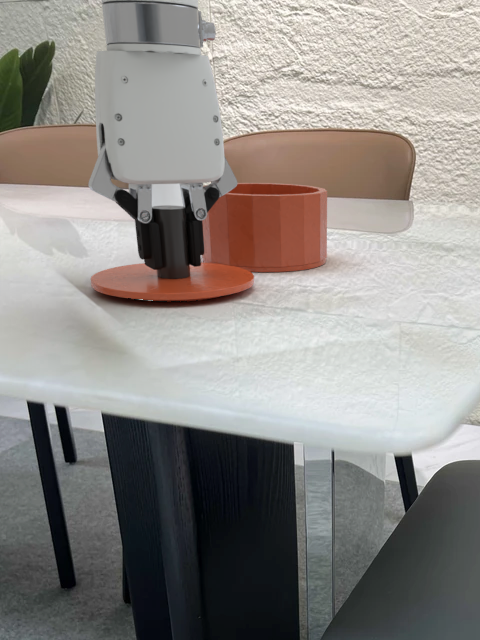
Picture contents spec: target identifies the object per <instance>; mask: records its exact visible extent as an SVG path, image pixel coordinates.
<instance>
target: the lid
mask: <svg viewBox="0 0 480 640" xmlns="http://www.w3.org/2000/svg"><path fill="white" fill-rule="evenodd" d="M152 215H153V217H154V222H155V223H157V224H158V225H159V233H160V244H161V255H162V268H161V269H160V270H153V269H152V268H150V267H148V266H146V265H145V262H143V263H134V264H127V265H125V264H124V265H120V266H115V267H114V266H113V267H110V268H106V269H103V270H101V271H98V272H96V273H94V274H93V275H92V276H91V277H90V284H91V285H90V286H91V288H92V289H93V290H94V291H96V292H98V293H100V294H104V295H107V296H112V297H117V298H123V299H128V298H131V299H130V300H134V299H143V300H153V301H167V302H166V303H172V302H171V301H180V302H179V303H182V302H181V301H187V302H197V301H196V300H198V301H204V300H211V299H216V298H220V297H223V296H229V295H233V294H236V293H240V292H243V291H246V290H249V289H250V288H252V287H253V285H254V284H255V275H254V273H253V272H250V271H248V270H245V269H243V268H239V267H235V266H230V265H224V264H215V263H204V262H202V261H201V266H197V267H194V266H192V265H190V263H189V249H188V235H187V221H186V208H185V207H183V206H170V205H167V206H154V207H152Z"/></svg>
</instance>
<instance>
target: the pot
mask: <svg viewBox="0 0 480 640" xmlns="http://www.w3.org/2000/svg"><path fill="white" fill-rule="evenodd" d="M207 185H208V184H206V185H203V187H204V186H207ZM202 223H203V238H204V255H201V257H202V261H203V263H215V264H224V265H230V266H235V267H239V268H243V269H245V270H248V271H250V272H251V273H284V272H285V273H286V272H297V271H304V270H311V269H315V268H318V267H319V268H320V267H321V266H323V265H325V264H326V262H327V261H326V260H327V258H328V190H326V188H324V187H320V186H319V187H318V186H314V185H303V184H295V183H277V182H275V183H274V182H237V186H236V187H235V188H234V189H232V190H231V191H229V192H228V193H226V194H225V195H223V196H221V197H219V199H218V200H217V201H216V203H215V204H214V205H213V206H212V208H211V209H210V210H209V211H208V213H207V217H206V218H205V219H204V220H202Z"/></svg>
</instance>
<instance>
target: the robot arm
mask: <svg viewBox="0 0 480 640" xmlns="http://www.w3.org/2000/svg"><path fill="white" fill-rule="evenodd" d="M101 4H102V5H101V9H102V17H103V18H102V19H103V28H104V36H105V44H106V46H105V47H106V50H98V51H96V52H95V53H96V55H95V66H94V67H95V68H94V109H95V110H94V111H95V114H94V115H95V131H96V132H95V133H96V147H97V148H96V149H97V158H96V161H95V163H94V166H93V169H92V172H91V175H90V178H89V179H88V184H87V185H88V188H89V189H90V190H91V191H92V192H94V193H96V194H98V195H100V196H103V197H104V198H106V199H109V200H111V201H113V202H114V203H115V204H117V205H118V206H119V207H120V208H121V209H122V210H123V211H124V212H126V214H128V215H129V217H130V218H131V219H132V220H134V225H135V226H134V227H135V233H136V234H135V235H136V244H137V253H138V257H139V259H140V260H143V263H145V265H146V266H148V267H150V268H152V269H153V270H160V269H161V268H162V255H161V244H160V233H159V225H158V224H157V223H155V222H154V217H153V215H152V184H180V190H181V196H182V202H183V207H185V208H186V221H187V235H188V249H189V263H190V265H192V266H194V267H197V266H201V262H202V258H201V257H202V255H204V238H203V223H202V220H204V219H205V218H206V217H207V213H208V211H209V210H210V209H211V208H212V206H213V205H214V204H215V203H216V201H217V200H218V199H219V197H221V196H223V195H225V194H226V193H228V192H229V191H231V190H232V189H234V188H235V187H236V186H237V183H238V179H237V177H236V176H235V173H234V171H233V169H232V167H231V166H230V164H229V161H228V159H227V158H226V155H225V143H224V142H225V141H224V134H223V126H222V116H221V109H220V104H219V97H218V93H217V87H216V82H215V78H214V73H213V69H212V65H211V62H210V57H209V55H205V54H204V55H202V49H201V48H204V43H206V42H208V41H211V42H213V41H215V40H216V35H217V33H216V26H215V23H214V22H211V21H206V20H205V19H203V18H202V11H200V10H199V0H101ZM112 180H113V181H118V182H121V183H125V184H128V191H127V190H125V189H123V188H121V187H120V186H117V185H115V184H114V183H113V181H112ZM205 183H209V184H206V185H207V186H206V185H203V184H205ZM203 186H204V187H203Z"/></svg>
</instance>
